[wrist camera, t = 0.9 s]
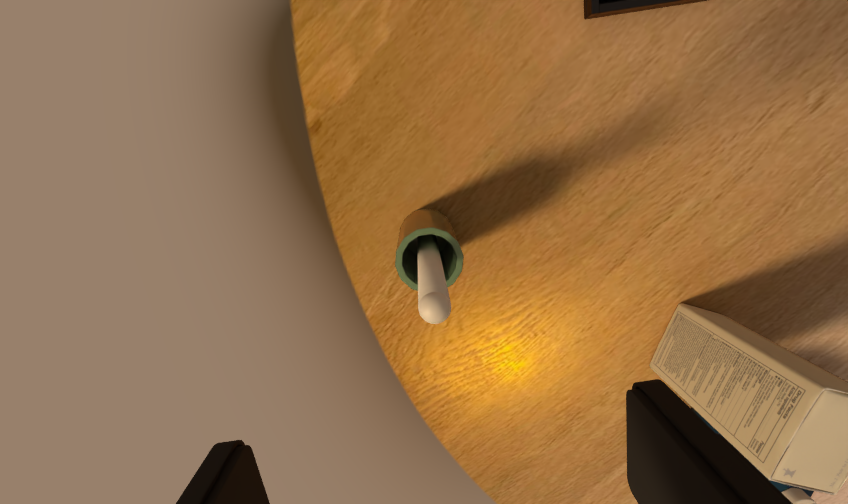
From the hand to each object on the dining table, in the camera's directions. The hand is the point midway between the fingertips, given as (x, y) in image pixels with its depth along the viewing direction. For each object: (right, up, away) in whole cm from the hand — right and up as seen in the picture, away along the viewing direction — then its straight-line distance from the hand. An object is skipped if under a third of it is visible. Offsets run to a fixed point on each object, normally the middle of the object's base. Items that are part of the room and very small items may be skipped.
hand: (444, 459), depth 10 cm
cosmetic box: (+21, -2, +24) cm, 32 cm away
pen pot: (0, +6, +21) cm, 22 cm away
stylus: (0, +6, +20) cm, 21 cm away
